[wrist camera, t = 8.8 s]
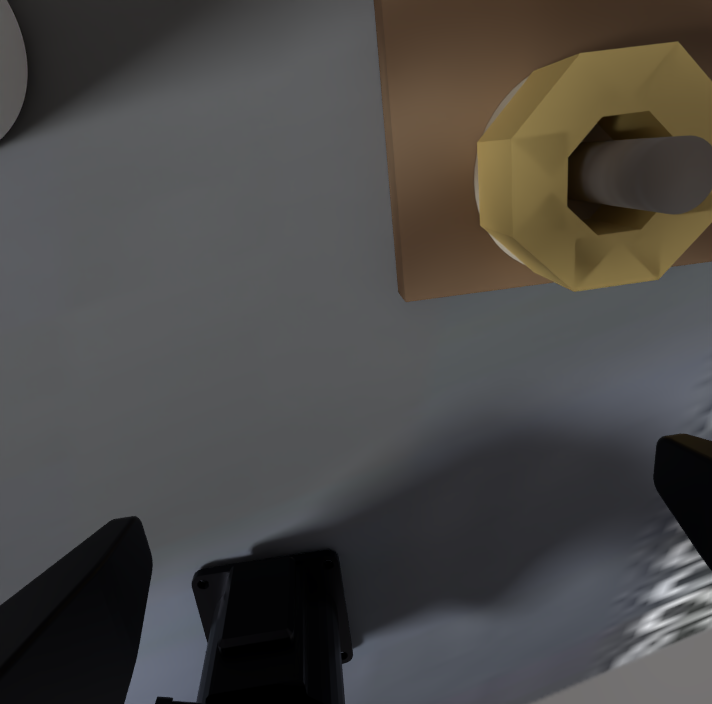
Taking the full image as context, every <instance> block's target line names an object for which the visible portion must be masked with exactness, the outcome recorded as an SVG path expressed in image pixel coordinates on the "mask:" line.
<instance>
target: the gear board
mask: <svg viewBox="0 0 712 704" xmlns="http://www.w3.org/2000/svg"><path fill="white" fill-rule="evenodd" d="M374 8H375V20H376V31H377V43H378V55H379V67H380V79H381V91H382V103H383V115H384V127H385V138H386V150H387V162H388V174H389V186H390V198H391V210H392V222H393V234H394V246H395V257H396V269H397V281H398V292H399V294H400V295H401V296H402V298H403V299H404V300H405V302H410V301H417V300H425V299H432V298H440V297H447V296H455V295H462V294H470V293H477V292H485V291H492V290H500V289H508V288H515V287H523V286H530V285H538V284H545V283H553V281H551V280H549V279H547V278H545V277H543V276H541V275H539V274H536V273H534V272H533V271H532V270H531V269H530V268H528V267H527V266H526V265H525V264H524V263H523V262H521V261H520V260H519V259H518V258H517V257H516V256H515V255H513V254H512V253H511V252H510V251H509V250H508V249H507V248H505V247H504V246H503V245H502V244H501V243H500V242H498V241H497V240H496V239H495V238H494V237H493V236H492V235H490V234H489V233H488V232H487V231H486V230H485V229H484V228H482V227H481V226H480V210H479V183H478V155H477V142H478V141H479V139H480V138H481V137H482V136H483V134H484V133H485V132H486V130H487V129H488V128H489V127H490V125H491V124H492V123H493V122H494V120H495V119H496V118H497V116H498V115H499V114H500V113H501V111H502V110H503V109H504V108H505V106H506V105H507V104H508V103H509V101H510V100H511V99H512V97H513V96H514V95H515V94H516V92H517V91H518V90H519V89H520V87H521V86H522V85H523V83H524V82H525V81H526V80H527V78H528V77H529V76H530V75H531V73H532V72H533V71H535V70H537V69H540V68H542V67H545V66H548V65H550V64H553V63H555V62H558V61H561V60H563V59H566V58H568V57H571V56H574V55H576V54H579V53H585V52H593V51H602V50H610V49H618V48H627V47H635V46H644V45H652V44H660V43H669V42H677V41H678V42H679V43H680V44H681V45H682V47H683V48H684V49H685V50H686V51H687V53H688V54H689V55H690V56H691V57H692V58H693V60H694V61H695V62H696V63H697V64H698V65H699V67H700V68H701V69H702V70H703V71H704V73H705V74H706V75H707V76H708V77H709V78H710V80H711V81H712V0H374ZM711 190H712V146H711V144H709V143H708V142H707V141H706V140H705V139H703V138H701V137H697V136H691V135H690V136H673V137H657V138H641V139H625V140H613V139H612V138H611V137H610V136H609V135H608V134H607V133H606V132H605V131H604V130H603V129H602V128H601V127H600V126H599V125H598V124H596V125H595V126H594V127H593V128H592V130H591V131H590V132H589V133H588V134H587V136H586V137H585V138H584V139H583V140H582V141H581V143H580V144H579V145H578V146H577V147H576V149H575V150H574V151H573V152H572V153H571V155H570V156H569V157H568V187H567V207H568V208H569V209H570V210H571V211H572V212H573V213H574V214H575V215H576V216H578V217H579V218H580V219H581V220H584V219H590V217H591V216H592V215H593V214H594V213H595V212H596V211H597V209H598V208H599V207H600V206H601V205H602V204H604V205H611V206H617V207H624V208H631V209H638V210H645V211H651V212H658V213H665V214H682V213H685V212H688V211H690V210H692V209H694V208H695V207H697V206H698V205H699V204H701V203H702V202H703V201H704V200H705V199H706V197H707V196H708V195H709V193H710V192H711ZM711 261H712V223H711V224H710V225H709V226H708V227H707V228H706V229H705V230H704V231H703V233H702V234H701V235H700V236H699V237H698V238H697V239H696V240H695V241H694V242H693V243H692V244H691V245H690V246H689V248H688V249H687V250H686V251H685V252H684V253H683V254H682V255H681V256H680V257H679V258H678V259H677V260H676V261H675V263H674V264H673V265H672V266H671V267H673V266H681V265H688V264H696V263H703V262H711Z"/></svg>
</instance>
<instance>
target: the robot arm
mask: <svg viewBox="0 0 712 704" xmlns="http://www.w3.org/2000/svg"><path fill="white" fill-rule="evenodd" d="M653 479H654V484H655V487H656V490H657V491H658V493H659V495H660V496H661V498H662V499H663V501H664V502H665V504H666V505H667V507H668V508H669V510H670V511H671V513H672V514H673V516H674V517H675V519H676V520H677V522H678V523H679V524H680V526H681V527H682V529H683V530H684V532H685V533H686V535H687V536H688V538H689V539H690V541H691V542H692V544H693V545H694V547H695V548H696V550H697V551H698V553H699V554H700V556H701V557H702V558H703V560H704V561H705V563H706V564H707V565H708V567H709V568H710V569H711V571H712V441H709V440H706V439H702V438H699V437H695V436H692V435H688V434H675V435H669V436H663V437H661V438H660V439H659V440H658V442H657V445H656V454H655V464H654V474H653ZM327 560H330V561H332V562H330V563H324V561H327ZM152 567H153V562H152V555H151V551H150V548H149V545H148V541H147V538H146V535H145V532H144V528H143V525H142V522H141V521H140V519H139V518H138V517H136V516H131V517H125V518H118V519H113V520H111V521H109V522H108V523H107V524H106V525H104V526H103V527H102V528H100V529H99V530H98V531H96V532H95V533H94V534H93V535H91V536H90V537H89V538H87V539H86V540H85V541H83V542H82V543H81V544H80V545H78V546H77V547H76V548H74V549H73V550H72V551H70V552H69V553H68V554H67V555H65V556H64V557H63V558H61V559H60V560H59V561H57V562H56V563H55V564H54V565H52V566H51V567H50V568H48V569H47V570H46V571H44V572H43V573H42V574H41V575H39V576H38V577H37V578H35V579H34V580H33V581H31V582H30V583H29V584H28V585H26V586H25V587H24V588H22V589H21V590H20V591H18V592H17V593H16V594H15V595H13V596H12V597H11V598H9V599H8V600H7V601H5V602H4V603H3V604H2V605H0V704H124V702H125V699H126V695H127V692H128V688H129V685H130V681H131V678H132V674H133V670H134V667H135V663H136V659H137V654H138V649H139V644H140V638H141V632H142V627H143V621H144V615H145V609H146V603H147V598H148V592H149V586H150V580H151V575H152ZM201 580H206V581H208V582H201ZM192 589H193V592H194V596H195V600H196V603H197V607H198V610H199V614H200V618H201V621H202V625H203V628H204V632H205V636H206V639H207V643H208V645H207V650H206V655H205V660H204V665H203V670H202V676H201V681H200V686H199V691H198V696H197V701H196V703H195V702H181V701H173V698H170V697H157V699H156V703H155V704H345V696H344V684H343V672H342V664H344V663H347V662H349V661H350V660H351V659H352V657H353V650H352V643H351V636H350V630H349V623H348V616H347V610H346V603H345V597H344V590H343V583H342V577H341V570H340V563H339V557H338V554H337V553H336V552H335V551H333V550H321V551H315V552H308V553H302V554H296V555H289V556H283V557H276V558H270V559H264V560H257V561H251V562H245V563H238V564H232V565H225V566H219V567H213V568H206V569H201V570H198V571H197V572H196V573H195V574H194V576H193V580H192ZM341 652H343V653H341Z"/></svg>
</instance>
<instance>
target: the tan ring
mask: <svg viewBox="0 0 712 704" xmlns="http://www.w3.org/2000/svg"><path fill="white" fill-rule="evenodd" d="M596 124H598V125H599V126H600V127H601V128H602V129H603V130H604V131H605V132H606V133H607V134H608V135H609V136H610V137H611V138H612V139H613V140H625V139H641V138H657V137H673V136H690V135H691V136H697V137H701V138H703V139H705V140H706V141H707V142H708V143H709V144H711V146H712V81H711V80H710V78H709V77H708V76H707V75H706V74H705V73H704V71H703V70H702V69H701V68H700V67H699V65H698V64H697V63H696V62H695V61H694V60H693V58H692V57H691V56H690V55H689V54H688V53H687V51H686V50H685V49H684V48H683V47H682V45H681V44H680V43H679V42H678V41H677V42H669V43H660V44H652V45H644V46H635V47H627V48H618V49H610V50H602V51H593V52H585V53H579V54H576V55H574V56H571V57H568V58H566V59H563V60H561V61H558V62H555V63H553V64H550V65H548V66H545V67H542V68H540V69H537V70H535V71H533V72H532V73H531V75H530V76H529V77H528V78H527V80H526V81H525V82H524V83H523V85H522V86H521V87H520V89H519V90H518V91H517V92H516V94H515V95H514V96H513V97H512V99H511V100H510V101H509V103H508V104H507V105H506V106H505V108H504V109H503V110H502V111H501V113H500V114H499V115H498V116H497V118H496V119H495V120H494V122H493V123H492V124H491V125H490V127H489V128H488V129H487V130H486V132H485V133H484V134H483V136H482V137H481V138H480V139H479V141H478V142H477V155H478V183H479V210H480V226H481V227H482V228H484V229H485V230H486V231H487V232H488V233H489V234H490V235H492V236H493V237H494V238H495V239H496V240H497V241H498V242H500V243H501V244H502V245H503V246H504V247H505V248H507V249H508V250H509V251H510V252H511V253H512V254H513V255H515V256H516V257H517V258H518V259H519V260H520V261H521V262H523V263H524V264H525V265H526V266H527V267H528V268H530V269H531V270H532V271H533V272H534V273H536V274H539V275H541V276H543V277H545V278H547V279H549V280H551V281H553V282H555V283H557V284H559V285H561V286H563V287H565V288H568V289H570V290H572V291H574V292H575V291H582V290H589V289H596V288H603V287H610V286H617V285H624V284H631V283H638V282H645V281H652V280H659V279H660V277H661V276H662V275H663V274H664V273H665V272H666V271H667V270H668V269H669V268H670V267H671V266H672V265H673V264H674V263H675V261H676V260H677V259H678V258H679V257H680V256H681V255H682V254H683V253H684V252H685V251H686V250H687V249H688V248H689V246H690V245H691V244H692V243H693V242H694V241H695V240H696V239H697V238H698V237H699V236H700V235H701V234H702V233H703V231H704V230H705V229H706V228H707V227H708V226H709V225H710V224H711V223H712V190H711V192H710V193H709V195H708V196H707V197H706V199H705V200H704V201H703V202H702V203H701V204H699V205H698V206H697V207H695V208H694V209H692V210H690V211H688V212H685V213H682V214H665V213H658V212H651V211H645V210H638V209H631V208H624V207H617V206H611V205H604V204H602V205H601V206H600V207H599V208H598V209H597V211H596V212H595V213H594V214H593V215H592V216H591V217H590V219H584V220H581V219H580V218H579V217H578V216H576V215H575V214H574V213H573V212H572V211H571V210H570V209H569V208H568V207H567V187H568V157H569V156H570V155H571V153H572V152H573V151H574V150H575V149H576V147H577V146H578V145H579V144H580V143H581V141H582V140H583V139H584V138H585V137H586V136H587V134H588V133H589V132H590V131H591V130H592V128H593V127H594V126H595V125H596Z"/></svg>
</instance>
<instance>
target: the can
mask: <svg viewBox="0 0 712 704" xmlns="http://www.w3.org/2000/svg"><path fill="white" fill-rule="evenodd" d="M27 77H28V67H27V56H26V50H25V45H24V41H23V37H22V34H21V31H20V28H19V25H18V22H17V20H16V17H15V15H14V13H13V11H12V9H11V7H10V5H9V3H8V2H7V0H0V139H1V138H3V136H4V135H5V134H6V133H7V132H8V131H9V130H10V128H11V127H12V125H13V124H14V122H15V121H16V119H17V117H18V115H19V113H20V110H21V108H22V105H23V102H24V98H25V94H26V88H27Z"/></svg>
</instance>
